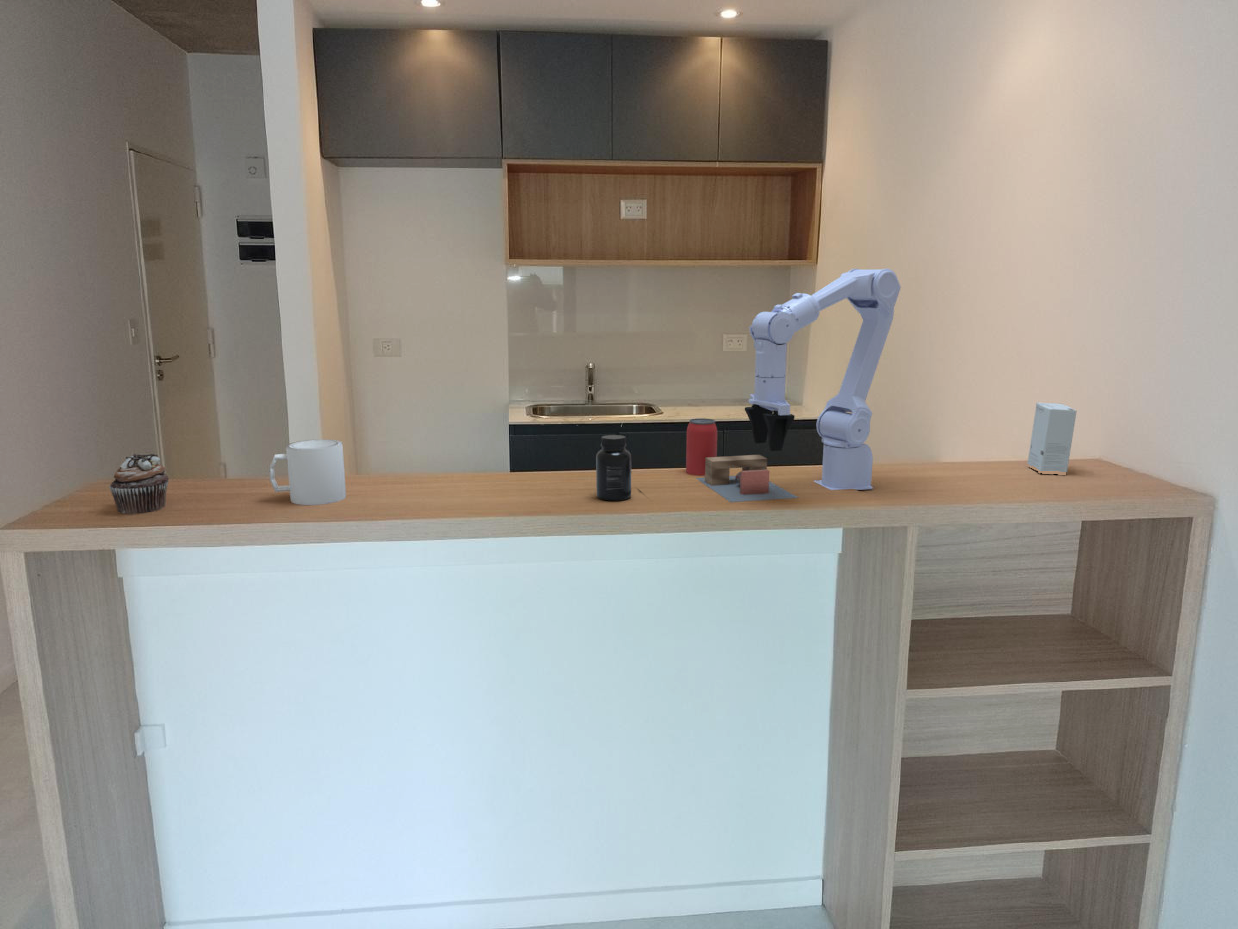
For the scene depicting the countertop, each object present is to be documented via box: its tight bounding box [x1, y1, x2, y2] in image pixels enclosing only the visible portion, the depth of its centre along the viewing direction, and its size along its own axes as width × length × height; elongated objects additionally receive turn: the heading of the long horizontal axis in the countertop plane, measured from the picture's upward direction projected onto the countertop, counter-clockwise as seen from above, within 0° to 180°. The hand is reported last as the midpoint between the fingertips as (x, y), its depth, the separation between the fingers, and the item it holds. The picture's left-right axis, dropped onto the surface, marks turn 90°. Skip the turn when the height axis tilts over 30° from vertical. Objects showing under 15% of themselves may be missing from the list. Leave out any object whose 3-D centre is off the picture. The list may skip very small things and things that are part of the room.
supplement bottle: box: [595, 434, 632, 502], centre depth 168 cm, size 7×7×12 cm
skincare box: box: [1026, 402, 1077, 473], centre depth 191 cm, size 8×6×15 cm
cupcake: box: [108, 453, 169, 515], centre depth 160 cm, size 10×10×10 cm
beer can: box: [685, 417, 718, 477], centre depth 187 cm, size 7×7×12 cm
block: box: [704, 454, 768, 486], centre depth 179 cm, size 12×4×5 cm, turn 104°
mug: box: [269, 439, 347, 506], centre depth 166 cm, size 14×10×11 cm
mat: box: [695, 475, 799, 503], centre depth 175 cm, size 14×20×1 cm
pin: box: [735, 468, 770, 495], centre depth 172 cm, size 7×6×4 cm
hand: (767, 446), depth 167 cm, fingers open, 7 cm apart
